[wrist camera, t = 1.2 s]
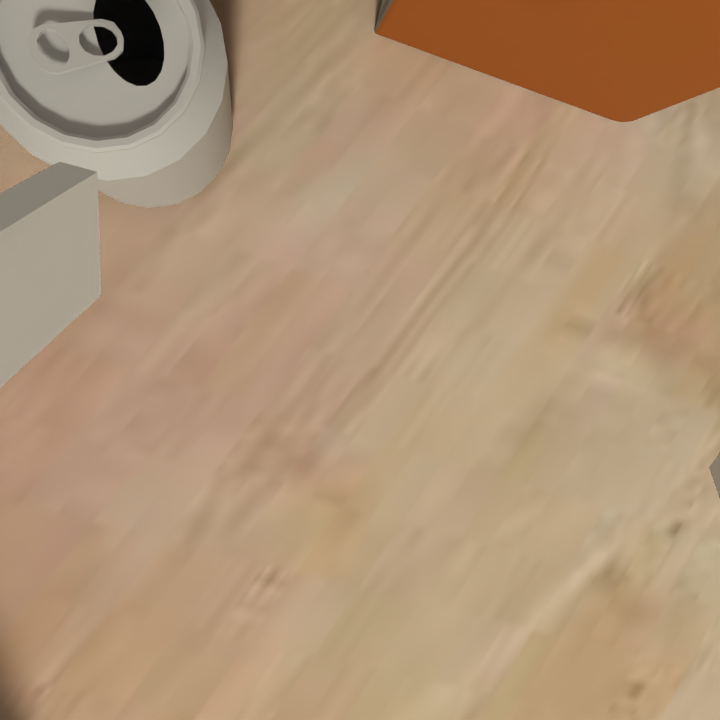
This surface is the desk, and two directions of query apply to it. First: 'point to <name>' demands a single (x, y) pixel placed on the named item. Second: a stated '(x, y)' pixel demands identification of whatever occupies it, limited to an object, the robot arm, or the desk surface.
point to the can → (119, 92)
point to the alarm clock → (573, 47)
